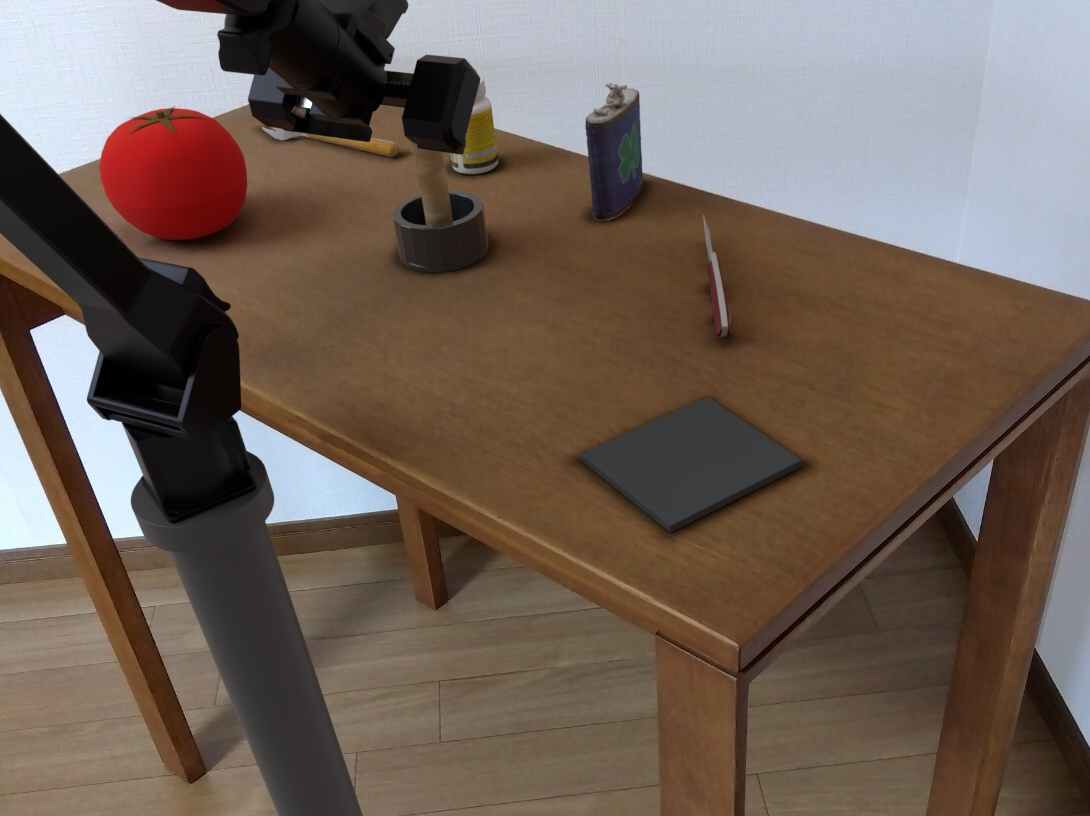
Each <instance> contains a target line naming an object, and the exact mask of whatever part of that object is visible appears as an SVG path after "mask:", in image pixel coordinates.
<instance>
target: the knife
mask: <svg viewBox="0 0 1090 816" xmlns="http://www.w3.org/2000/svg"><path fill="white" fill-rule="evenodd" d="M702 218H703V229H704V238H705V244H706V245H705V246H706V250H707V255H708V260H709V262H708V264H707V266H706V271H707V278H708V283H709V290H710V296H711V297H710V298H711V303H712V313H713V322H714V328H715V334H716V337H718V338H719V337H720V338H722V337H724V338H725V337H730V336H732V333H733V332H732V322H731V321H732V316H731V314H730V309H729V303H728V297H727V291H726V285H725V280H724V279H725V278H724V271H723V268H722V264H721V262H720V261H718V258H717V253H716V251H713V246H712V241H711V234H710V230H709V226H708V224H707V221H706V217H705V214H704V213H702Z"/></svg>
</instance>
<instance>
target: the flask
mask: <svg viewBox="0 0 1090 816" xmlns="http://www.w3.org/2000/svg"><path fill="white" fill-rule="evenodd" d="M604 87H607V88H608V89H609V91H610V92H609V93H608V94H607V96H606V98H605V104H604V105H602V106H601V107H599V108H593V111H592V112H591V113H589V114H588V115H587V116H586V117H585V135H586V147H587V158H588V159H587V160H588V167H589V168H588V169H589V172H588V173H589V181H590V191H591V200H592V201H591V202H592V203H591V205H592V217H593V218H594V220H595V221H601V222H606V221H611V220H613V219H614V220H615V219H616V218H618V217H619V216H621V215H622V214H623V213H624V212H626V211H627V210H628V209H630V207H632V205H633V204H634V203H635V200H637V198H638V196H639V195H640V194H641V192H642V190H643V186H644V174H643V155H642V134H641V132H642V131H641V130H642V129H641V104H640V103H641V102H640V99H641V98H640V91H639V90H638V89H636V88H631V87H629V88H628V85H627V84H625V85H621V84H616V83H613V82H609V83H606V84H605V85H604Z"/></svg>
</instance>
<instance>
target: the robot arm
mask: <svg viewBox="0 0 1090 816" xmlns="http://www.w3.org/2000/svg"><path fill="white" fill-rule="evenodd" d="M155 1H156V2H159V3H161V4H163V5H166V6H167V7H169V8H172V9H175V10H178V11H185V12H187V11H188V12H196V13H197V12H198V13H199V12H200V13H207V14H218V15H219V14H220V15H225V17H224V24H223V25H224V27H223V28H222V29H219V30H218V31H217V33H216V36H217V39H218V41H219V48H218V53H217V55H218V62H219V67H220V70H222V71H223V72H225V73H235V74H243V75H244V74H245V75H251V76H252V75H253V77H252V81H251V85H250V88H249V93H248V97H247V102H248V106H249V109H250V112H251V116H252V117H253V118H255V119H256V120H257V121H258V122H260V123H261V124H262V125H264V126H265V127H268V128H271V127H273V128H280V129H283V130H285V131H291V132H298V133H305V134H312V135H319V136H326V137H334V138H342V139H349V140H356V141H363V142H370V139H371V138H372V135H373V128H372V127H371V126H370V124H371V121H372V117H373V113H374V112H376V111H377V110H378V109H379V108H380V106H387V107H396V108H403V112H402V116H401V123H402V127H403V133H404V137H405V138H406V139H407V140H409V142H411V143H412V142H413V143H415V144H417V148H418V149H424V150H431V151H438V152H443V153H446V154H450V153H452V154H459V155H463V153H464V150H465V146H466V140H465V136H466V133H467V129H468V125H469V121H470V118H471V114H472V110H473V106H474V102H475V99H476V95H477V91H478V87H479V84H480V80H481V79H480V77H479V73H478V71H477V70H476V69H475V68H474V67H473V65H472V64H471V63H470V62H469V61H468V60H467V59H466V57H465V58H464V57H454V56H445V55H435V54H424V55H423V56H421V57H420V58H418V59H417V60H416V63H415V66H414V69H413V70H414V71H413V73H412V72H403V71H393V70H386V69H385V68H386V65H391V64H392V61H393V59H394V53H395V50H396V47H395V46H394V45H393V44H392V43H391V42H390V41H389V40H388V39H389V38H390V36H391V35H392V33H393V31H394V29H395V28H396V26H397V24H398V23H399V21H400V19H401V18H402V15H405V14H406V12H407V11H408V8H409V2H408V0H155ZM0 235H1V236H3V237H4V238H5V239H6V240H7V241H8V242H9V243H10V244H12V246H14V247H15V248H16V249H17V250H18V252H20V253H21V254H22V255H23V256H24V257H25V258H27V259H28V261H30V262H31V263H32V264H33V265H34V266H35V267H37V268H38V269H39V271H41V272H42V273H43V274H44V275H45V276H46V277H47V278H48V279H50V281H52V283H54V284H55V285H57V287H58V288H60V289H61V290H62V291H63V292H64V293H65V294H66V295H67V296H68V297H70V298H71V300H73V301H74V302H75V303H76V304H77V305H78V307H79V308H80V310H81V314H82V318H83V323H84V327H85V332H86V334H87V337H88V338H89V339H90V341H91V342H92V343H93V345H94V346H95V347H96V349H97V350H98V351H99V352H98V355H97V359H96V362H95V366H94V369H93V370H94V371H93V374H92V378H91V381H90V384H89V389H88V392H87V395H86V402H87V404H88V405H89V406H90V407H91V408H92V409H93V411H94V412H95V413H96V414H97V415H99V417H100V418H101V419H102V420H105V421H114V422H115V421H116V422H119V423H121V425H122V428H123V430H124V432H125V434H126V437H127V439H128V442H129V445H130V447H131V449H132V452H133V454H134V457H135V459H136V461H137V464H138V466H139V469H140V471H141V473H142V475H141V477H140V479H141V482H142V485H143V486H144V488H145V489H146V490H147V492H148V493H149V495H150V496H151V498H152V499H153V501H154V502H155V504H156V505H157V507H158V508H159V509H160V511H161V512H162V514H163V515H164V517H165V518H166V520H167V521H168V522H169V523H177V522H180V521H182V520H185V519H187V518H190V517H192V516H194V515H197V514H199V513H202V512H204V511H207V510H209V509H211V508H214V507H216V506H219V505H221V504H224V503H226V502H228V501H231V500H233V499H236V498H238V497H240V496H243V495H245V494H248V493H250V492H252V491H254V490H255V489H256V484H255V481H254V480H253V479H252V478H251V476H250V475H249V474H248V473H247V471H248V470H250V468H251V463H250V460H249V457H248V454H247V451H248V450H247V448H246V445H245V441H244V438H243V436H242V432H241V429H240V427H239V424H238V421H237V420H236V418H234V417H233V416H235V415H236V414H237V413H238V412H240V411H241V409H242V385H241V359H240V358H241V357H240V345H239V342H238V341H239V337H240V335H239V331H238V328H237V325H236V324H235V323H234V321H233V319H232V318H231V316H230V315H228V314H227V313H226V312H227V311H229V310H230V309H232V305H231V303H229V302H226V301H224V300H222V299H221V298H220V297H218V296H217V295H216V294H215V293H214V291H213V290H212V289H211V287H210V285H209V284H208V282H207V281H206V279H205V278H204V277H203V276H202V274H201V273H200V272H198V271H197V270H196V269H195V268H193V267H191V266H186V265H179V264H175V263H169V262H164V261H159V260H154V259H149V258H144V257H139V256H137V254H136V253H135V252H134V251H133V250H132V249H131V248H130V247H129V246H128V245H127V244H126V243H125V241H123V239H121V238H120V237H119V235H118V234H116V232H115V231H114V230H113V229H112V228H110V226H109V225H108V224H107V223H106V222H105V221H104V220H103V219H102V218H101V217H100V216H99V215H98V214H97V213H96V212H95V211H94V210H93V209H92V207H91V206H90V205H89V204H88V203H87V202H86V201H85V200H84V199H83V198H82V197H81V196H80V195H79V194H78V192H76V191H75V190H74V189H73V188H72V186H70V185H69V184H68V183H67V182H66V181H65V179H64V178H63V177H62V176H61V175H60V174H59V173H58V172H57V171H56V170H55V169H54V168H53V167H52V165H50V164H49V163H48V162H47V161H46V160H45V158H44V157H42V155H40V153H38V151H37V150H36V149H35V148H34V147H33V146H32V145H31V144H30V143H29V142H28V141H27V140H26V139H25V137H23V136H22V134H21V133H20V132H19V131H18V130H17V129H16V128H15V127H14V126H13V125H12V124H11V123H10V122H9V121H8V120H7V119H6V118H5V117H4V116H3V115H2V114H1V113H0Z"/></svg>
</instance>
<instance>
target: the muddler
mask: <svg viewBox="0 0 1090 816" xmlns="http://www.w3.org/2000/svg"><path fill="white" fill-rule="evenodd" d="M411 144H412V150H413V155H414V161H415V167H416V173H417V178H418V179H417V180H418V185H419V190H420V194H421V197H422V203H423V209H424V215H425V220H426V225H441V224H446V223H451V222H453V217H452V210H451V204H450V197H449V191H448V190H449V185H448V179H447V178H448V177H447V171H446V166H445V159H444V152H438V151H431V150H424V149H418V148H417V144H415V143H413V142H411Z"/></svg>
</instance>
